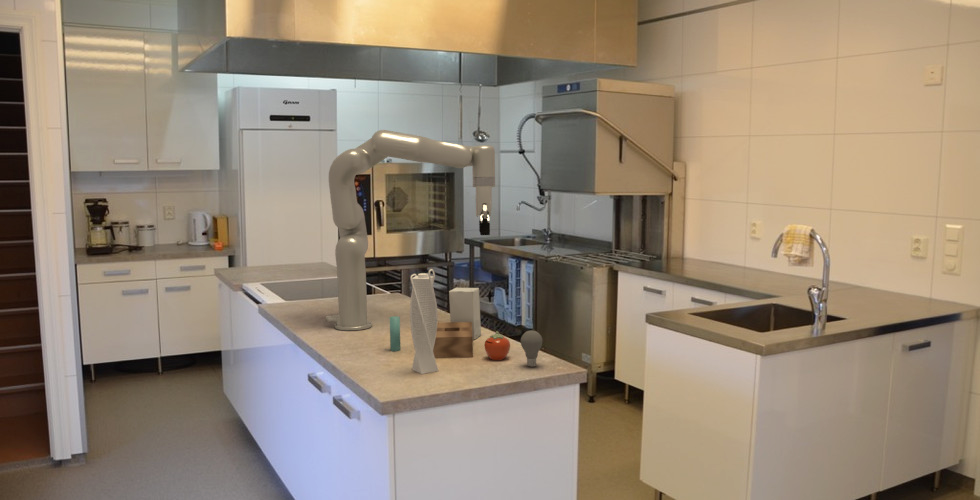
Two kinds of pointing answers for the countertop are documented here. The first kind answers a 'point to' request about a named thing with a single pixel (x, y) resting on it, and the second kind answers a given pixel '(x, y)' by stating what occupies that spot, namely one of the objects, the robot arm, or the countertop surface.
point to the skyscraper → (423, 322)
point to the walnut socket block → (453, 340)
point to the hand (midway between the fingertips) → (484, 233)
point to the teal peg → (395, 333)
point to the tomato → (497, 346)
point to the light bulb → (531, 346)
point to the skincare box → (466, 308)
